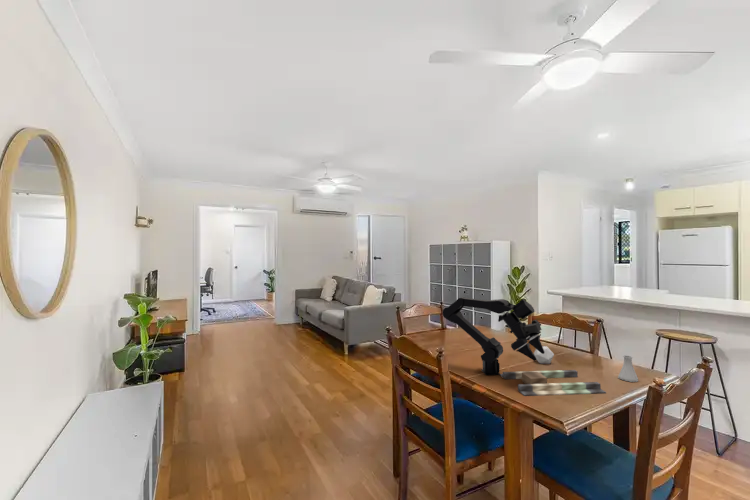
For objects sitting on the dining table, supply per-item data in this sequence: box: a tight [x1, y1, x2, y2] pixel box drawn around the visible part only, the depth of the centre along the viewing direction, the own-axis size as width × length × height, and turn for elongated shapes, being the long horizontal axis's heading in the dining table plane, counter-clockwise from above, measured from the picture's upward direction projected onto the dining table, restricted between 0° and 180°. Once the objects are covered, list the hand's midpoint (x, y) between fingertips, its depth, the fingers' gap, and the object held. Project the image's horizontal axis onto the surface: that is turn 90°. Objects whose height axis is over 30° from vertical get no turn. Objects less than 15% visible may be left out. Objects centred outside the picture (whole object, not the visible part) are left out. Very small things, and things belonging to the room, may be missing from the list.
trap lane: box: [499, 369, 607, 397], centre depth 143 cm, size 33×22×2 cm, turn 94°
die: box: [533, 345, 555, 365], centre depth 170 cm, size 8×9×10 cm
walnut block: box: [521, 372, 548, 384], centre depth 143 cm, size 7×7×4 cm
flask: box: [617, 354, 639, 383], centre depth 148 cm, size 7×7×10 cm
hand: (539, 356), depth 143 cm, fingers open, 9 cm apart
